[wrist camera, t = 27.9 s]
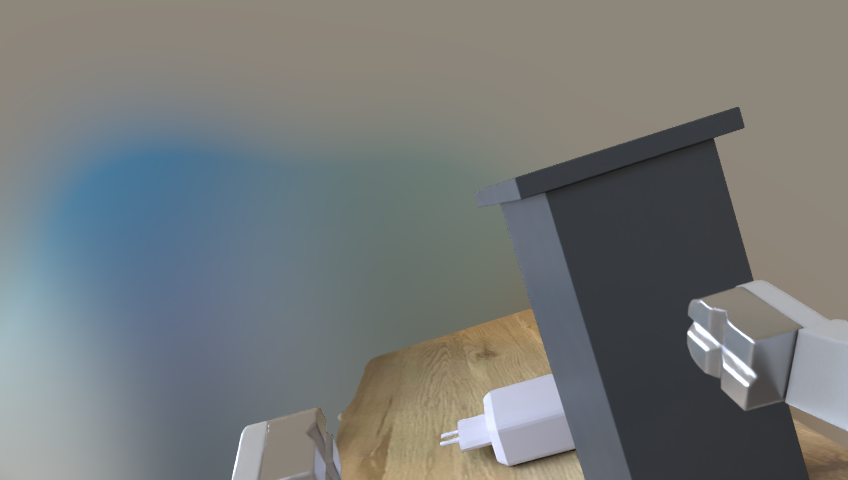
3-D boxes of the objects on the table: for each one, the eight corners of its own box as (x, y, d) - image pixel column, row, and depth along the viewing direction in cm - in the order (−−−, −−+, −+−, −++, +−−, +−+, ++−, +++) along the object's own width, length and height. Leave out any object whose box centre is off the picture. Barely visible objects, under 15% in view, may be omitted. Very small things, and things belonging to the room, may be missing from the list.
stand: (861, 547, 27) (739, 106, 26) (653, 631, 27) (514, 177, 25) (724, 455, 38) (633, 141, 37) (573, 512, 37) (473, 192, 36)
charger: (449, 440, 55) (577, 405, 54) (447, 488, 46) (601, 447, 45) (436, 401, 55) (565, 365, 54) (431, 442, 46) (587, 399, 44)
